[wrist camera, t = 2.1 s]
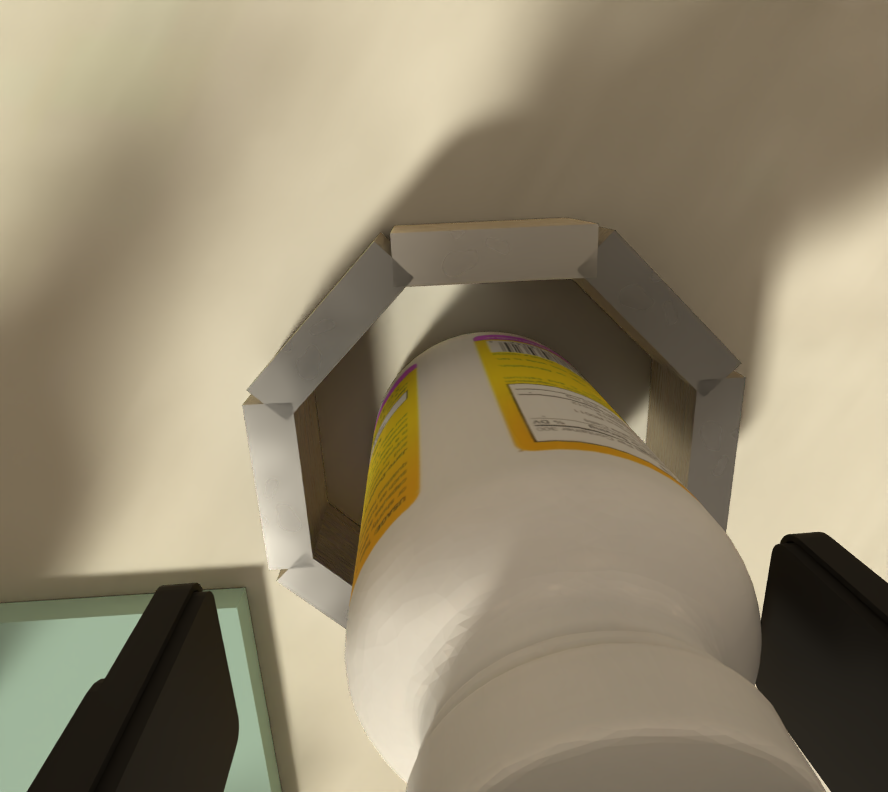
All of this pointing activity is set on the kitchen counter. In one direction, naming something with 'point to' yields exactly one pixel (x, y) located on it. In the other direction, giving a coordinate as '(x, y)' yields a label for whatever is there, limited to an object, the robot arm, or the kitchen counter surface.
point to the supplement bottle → (548, 596)
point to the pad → (89, 659)
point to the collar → (466, 262)
